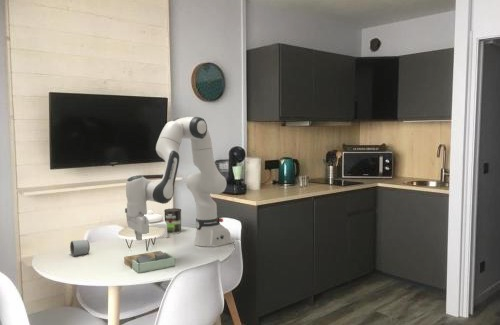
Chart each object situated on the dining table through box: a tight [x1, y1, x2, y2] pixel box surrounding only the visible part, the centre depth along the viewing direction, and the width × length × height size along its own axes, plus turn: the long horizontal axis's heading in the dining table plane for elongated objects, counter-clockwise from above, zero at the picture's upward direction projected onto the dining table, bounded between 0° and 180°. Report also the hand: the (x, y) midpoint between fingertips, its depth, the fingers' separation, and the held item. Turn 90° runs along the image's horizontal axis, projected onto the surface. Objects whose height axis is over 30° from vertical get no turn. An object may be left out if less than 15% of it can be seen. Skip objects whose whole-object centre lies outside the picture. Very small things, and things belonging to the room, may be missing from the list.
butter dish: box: [145, 209, 168, 240], centre depth 258 cm, size 18×18×16 cm
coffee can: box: [163, 207, 182, 235], centre depth 268 cm, size 10×10×14 cm
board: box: [123, 250, 164, 269], centre depth 205 cm, size 18×10×3 cm, turn 123°
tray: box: [131, 253, 176, 274], centre depth 197 cm, size 17×9×4 cm, turn 123°
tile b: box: [136, 255, 151, 264], centre depth 195 cm, size 5×5×3 cm
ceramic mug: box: [69, 239, 91, 257], centre depth 221 cm, size 11×8×8 cm
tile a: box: [155, 252, 169, 261], centre depth 199 cm, size 5×5×3 cm
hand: (138, 239), depth 202 cm, fingers closed
